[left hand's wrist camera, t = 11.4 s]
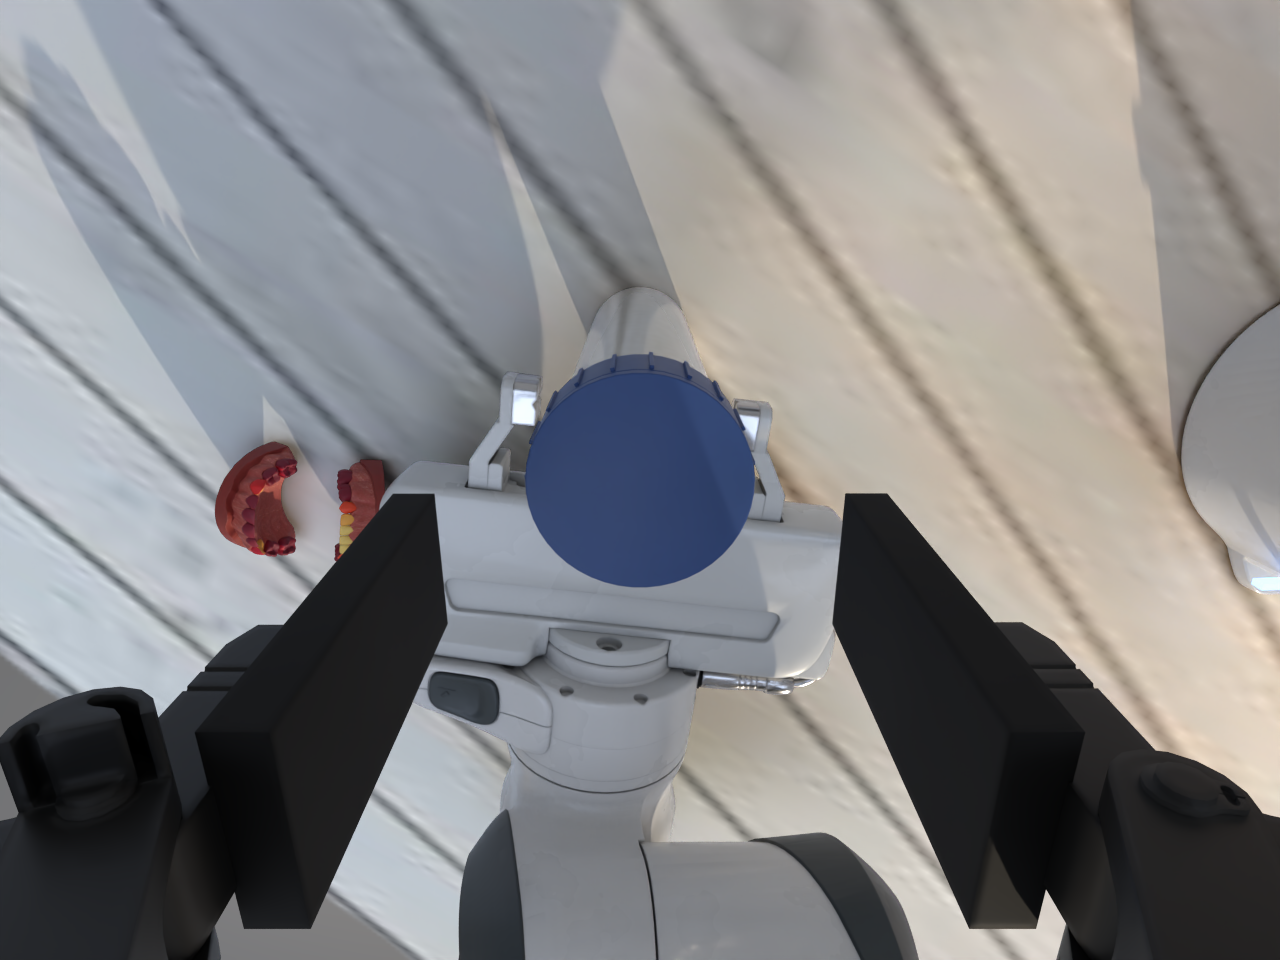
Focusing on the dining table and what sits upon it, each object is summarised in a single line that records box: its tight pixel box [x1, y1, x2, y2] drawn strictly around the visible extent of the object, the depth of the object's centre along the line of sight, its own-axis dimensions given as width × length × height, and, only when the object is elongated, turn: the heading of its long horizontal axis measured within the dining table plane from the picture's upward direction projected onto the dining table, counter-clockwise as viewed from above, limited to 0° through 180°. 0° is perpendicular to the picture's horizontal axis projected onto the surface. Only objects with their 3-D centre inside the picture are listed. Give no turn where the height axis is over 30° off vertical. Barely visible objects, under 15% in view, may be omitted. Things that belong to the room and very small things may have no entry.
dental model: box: [215, 442, 385, 561], centre depth 38 cm, size 6×4×8 cm
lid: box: [524, 352, 755, 587], centre depth 19 cm, size 6×6×2 cm
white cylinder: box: [572, 287, 708, 378], centre depth 27 cm, size 5×5×20 cm
